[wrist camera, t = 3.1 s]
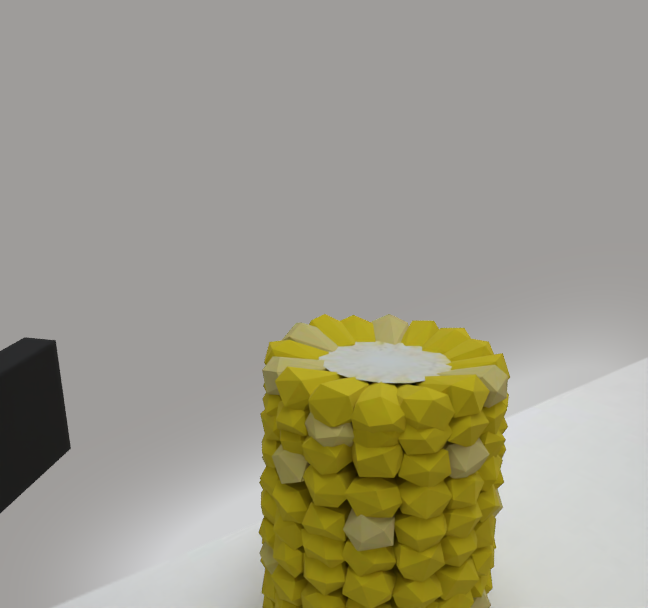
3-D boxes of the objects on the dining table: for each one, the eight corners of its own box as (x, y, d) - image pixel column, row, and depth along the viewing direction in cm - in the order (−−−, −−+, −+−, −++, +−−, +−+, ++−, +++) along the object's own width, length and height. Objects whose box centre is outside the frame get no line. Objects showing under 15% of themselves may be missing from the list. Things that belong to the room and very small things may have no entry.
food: (252, 771, 23) (302, 581, 32) (577, 772, 20) (528, 567, 30) (141, 407, 19) (235, 314, 29) (523, 357, 17) (486, 274, 26)
